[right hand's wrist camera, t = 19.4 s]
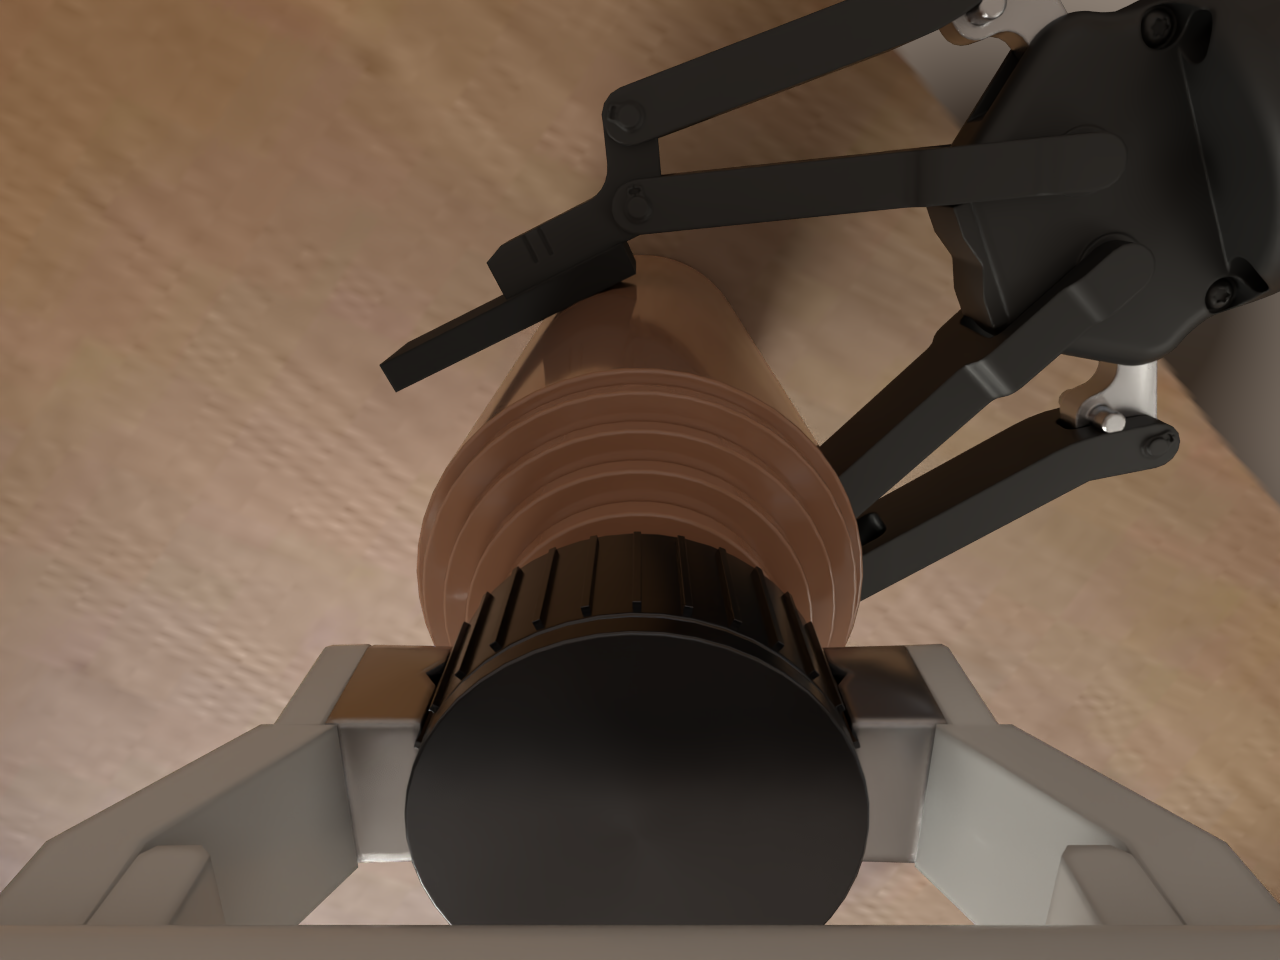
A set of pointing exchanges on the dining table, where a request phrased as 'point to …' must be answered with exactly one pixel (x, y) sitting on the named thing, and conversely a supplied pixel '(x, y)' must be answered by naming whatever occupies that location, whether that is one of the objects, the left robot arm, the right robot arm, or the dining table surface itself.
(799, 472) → the bottle
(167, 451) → the dining table surface
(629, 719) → the cap
